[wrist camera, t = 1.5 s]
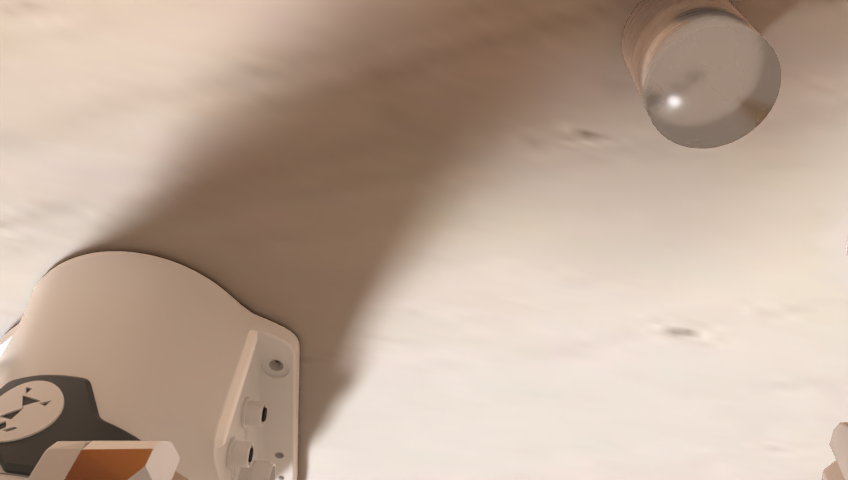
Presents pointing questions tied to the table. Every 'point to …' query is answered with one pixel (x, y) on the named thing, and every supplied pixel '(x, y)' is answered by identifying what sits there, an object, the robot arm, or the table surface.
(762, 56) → the cylinder
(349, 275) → the table surface
